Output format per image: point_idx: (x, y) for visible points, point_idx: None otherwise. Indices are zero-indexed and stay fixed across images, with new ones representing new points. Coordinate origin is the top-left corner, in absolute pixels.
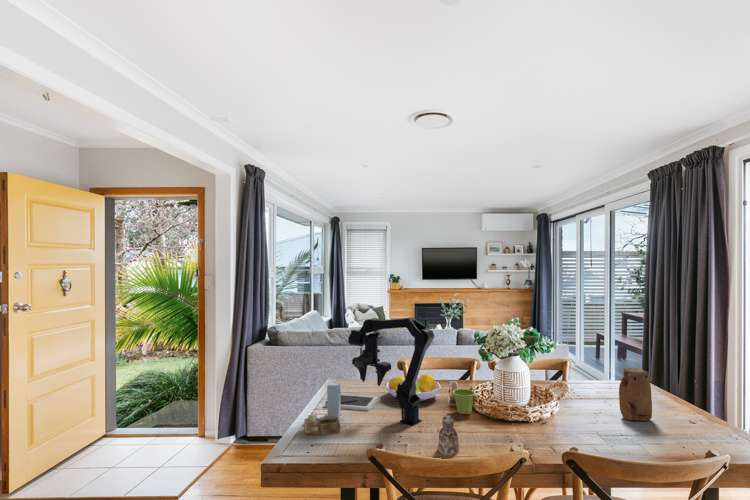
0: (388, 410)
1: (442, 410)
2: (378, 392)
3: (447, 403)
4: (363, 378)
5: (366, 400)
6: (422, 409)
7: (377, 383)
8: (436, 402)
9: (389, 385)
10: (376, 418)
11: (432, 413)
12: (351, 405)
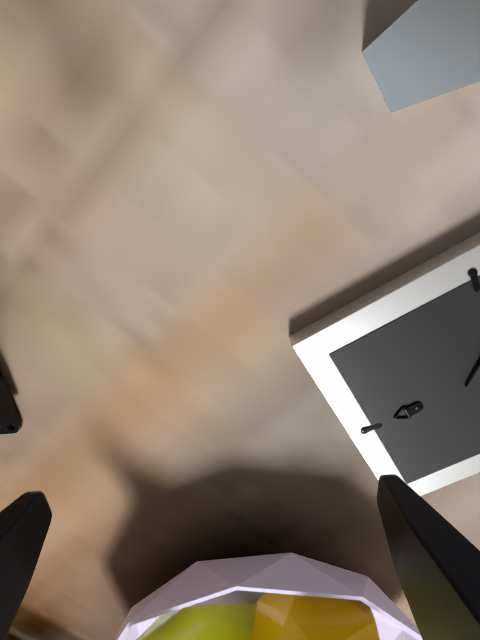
0: (201, 423)
1: None
2: None
3: (85, 634)
4: (400, 531)
5: (409, 425)
6: (90, 537)
7: (11, 521)
8: None
9: (359, 625)
10: (136, 282)
11: None
12: (435, 291)
